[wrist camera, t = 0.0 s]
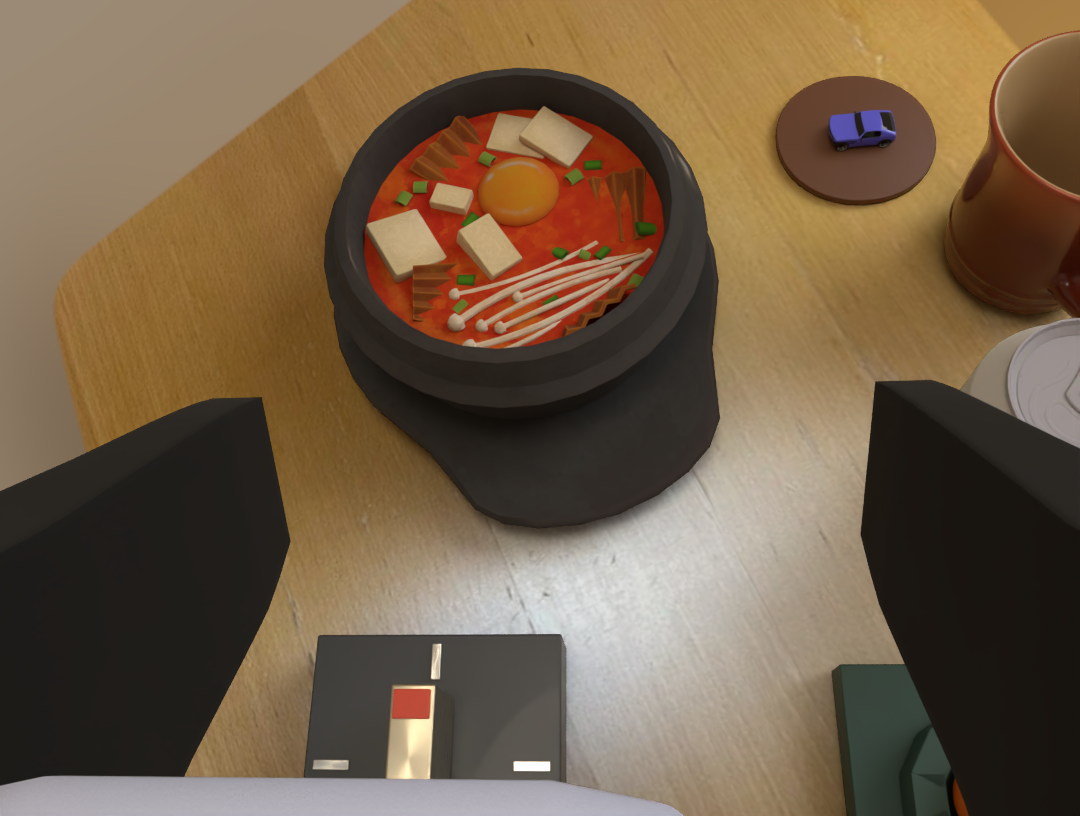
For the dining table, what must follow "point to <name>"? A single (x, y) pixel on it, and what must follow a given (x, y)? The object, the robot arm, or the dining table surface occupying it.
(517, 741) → the dial panel
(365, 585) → the dining table surface
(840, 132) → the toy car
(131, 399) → the dining table surface
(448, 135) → the casserole
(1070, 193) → the mug
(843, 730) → the button base
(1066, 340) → the beverage can
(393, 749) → the dial
